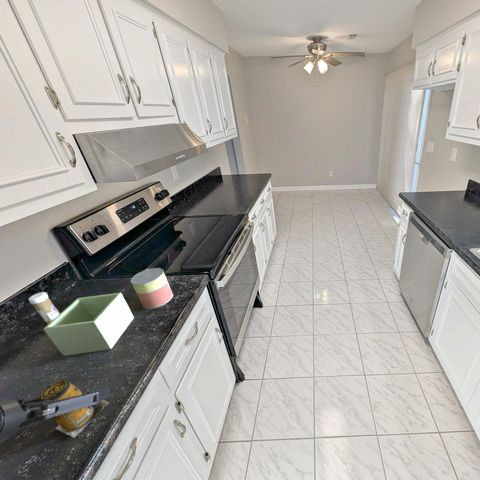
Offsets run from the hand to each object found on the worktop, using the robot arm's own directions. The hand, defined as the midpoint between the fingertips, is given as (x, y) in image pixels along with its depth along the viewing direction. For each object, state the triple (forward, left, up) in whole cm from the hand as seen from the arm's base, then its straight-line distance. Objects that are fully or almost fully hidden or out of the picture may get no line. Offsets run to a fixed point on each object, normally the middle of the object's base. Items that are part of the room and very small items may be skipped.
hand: (80, 396), depth 64 cm
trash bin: (-13, +27, -5) cm, 30 cm away
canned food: (-1, +44, -5) cm, 44 cm away
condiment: (0, -2, -5) cm, 5 cm away
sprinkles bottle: (-35, +37, -5) cm, 51 cm away
